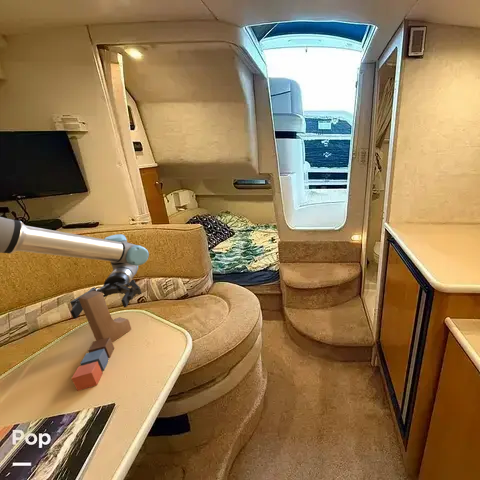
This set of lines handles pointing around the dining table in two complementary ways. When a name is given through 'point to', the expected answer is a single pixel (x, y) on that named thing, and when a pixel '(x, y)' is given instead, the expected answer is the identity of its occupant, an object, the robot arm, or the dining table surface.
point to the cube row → (93, 364)
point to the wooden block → (102, 317)
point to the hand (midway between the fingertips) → (99, 309)
